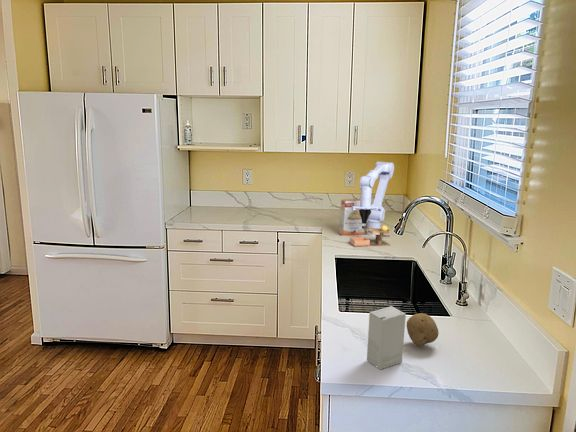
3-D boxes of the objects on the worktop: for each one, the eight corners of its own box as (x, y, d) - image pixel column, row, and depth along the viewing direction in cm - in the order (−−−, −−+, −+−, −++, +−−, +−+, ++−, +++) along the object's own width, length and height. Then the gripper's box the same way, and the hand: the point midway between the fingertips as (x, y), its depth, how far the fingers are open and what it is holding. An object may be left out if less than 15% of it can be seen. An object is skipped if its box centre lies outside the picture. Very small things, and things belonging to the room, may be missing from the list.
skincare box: (388, 354, 133) (391, 305, 130) (403, 363, 128) (407, 312, 125) (365, 361, 129) (368, 310, 126) (379, 371, 124) (383, 318, 121)
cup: (349, 242, 250) (349, 237, 249) (364, 242, 252) (364, 237, 251) (354, 246, 243) (354, 240, 243) (369, 245, 245) (369, 240, 245)
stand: (347, 244, 251) (348, 229, 249) (384, 242, 256) (385, 228, 254) (353, 248, 243) (354, 233, 241) (391, 247, 247) (392, 232, 246)
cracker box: (343, 236, 267) (345, 200, 263) (338, 234, 273) (340, 199, 268) (365, 235, 272) (367, 200, 267) (360, 233, 277) (362, 198, 273)
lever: (360, 230, 258) (361, 223, 257) (379, 231, 260) (380, 225, 260) (369, 236, 245) (370, 229, 244) (389, 237, 248) (390, 230, 247)
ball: (378, 228, 249) (382, 223, 249) (380, 231, 251) (384, 226, 252) (384, 231, 247) (388, 226, 247) (385, 234, 249) (389, 229, 250)
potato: (431, 339, 143) (434, 308, 141) (441, 353, 134) (444, 320, 132) (401, 338, 143) (404, 308, 141) (410, 353, 134) (413, 320, 132)
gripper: (355, 199, 247) (354, 224, 250) (381, 199, 251) (379, 224, 253) (351, 197, 254) (349, 222, 257) (375, 197, 257) (374, 221, 260)
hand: (364, 223), depth 255 cm, fingers closed
